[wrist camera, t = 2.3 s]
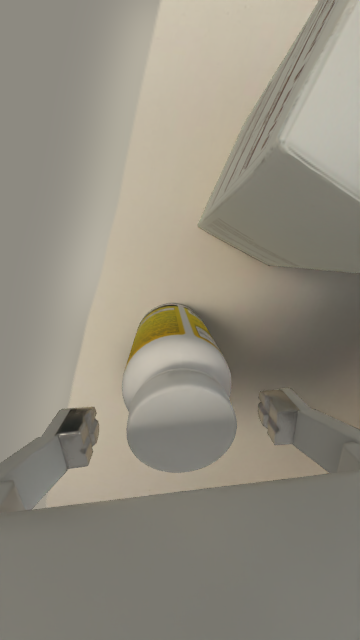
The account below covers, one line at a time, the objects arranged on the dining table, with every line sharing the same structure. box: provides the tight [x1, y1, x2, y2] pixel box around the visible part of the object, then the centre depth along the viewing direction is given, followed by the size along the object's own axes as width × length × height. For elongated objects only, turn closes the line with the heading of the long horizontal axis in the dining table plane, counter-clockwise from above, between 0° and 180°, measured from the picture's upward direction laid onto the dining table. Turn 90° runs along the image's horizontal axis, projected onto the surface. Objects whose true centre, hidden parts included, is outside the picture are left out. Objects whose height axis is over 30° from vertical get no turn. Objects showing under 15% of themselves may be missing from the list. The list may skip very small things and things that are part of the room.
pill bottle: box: [122, 304, 237, 473], centre depth 14 cm, size 6×6×11 cm
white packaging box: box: [198, 0, 360, 273], centre depth 10 cm, size 7×7×13 cm
